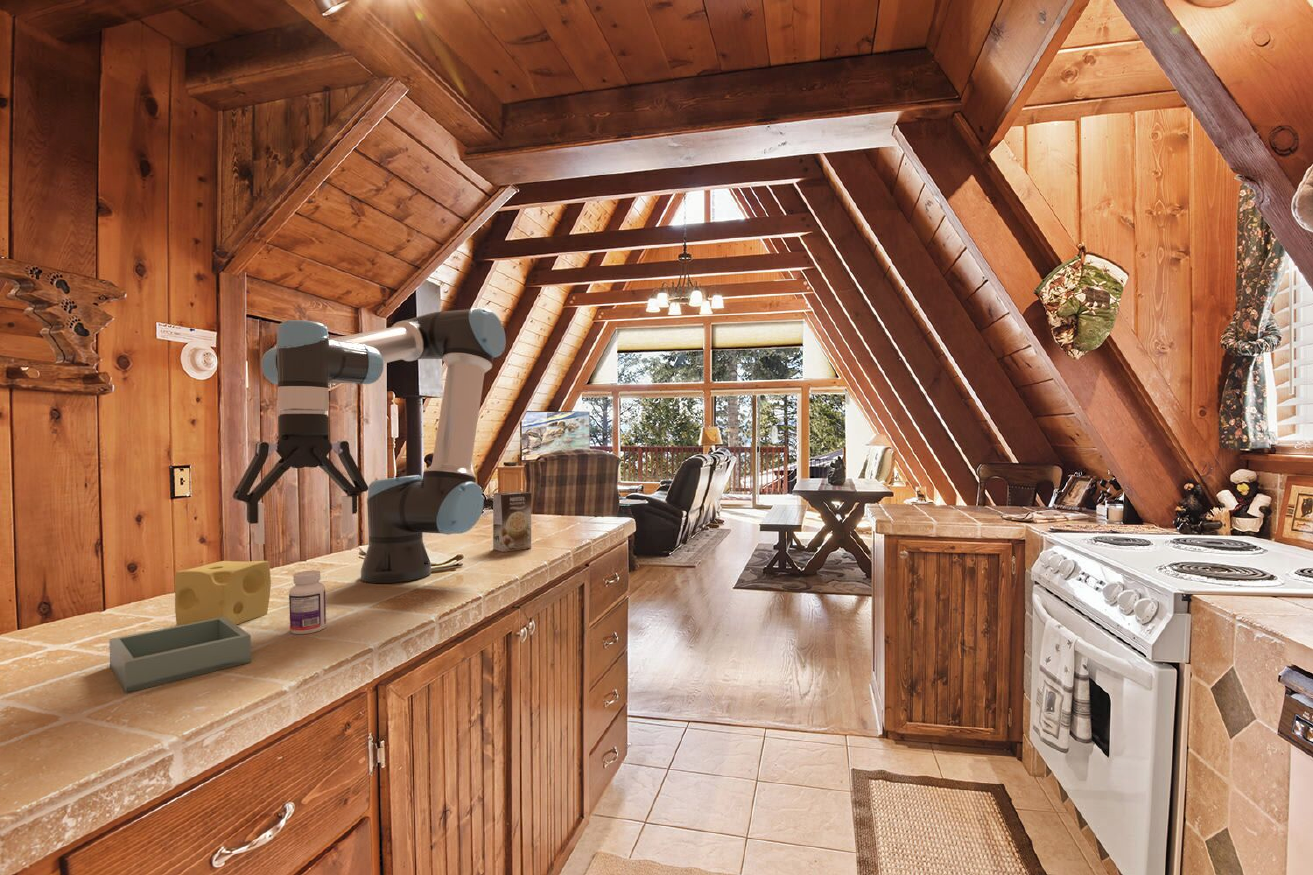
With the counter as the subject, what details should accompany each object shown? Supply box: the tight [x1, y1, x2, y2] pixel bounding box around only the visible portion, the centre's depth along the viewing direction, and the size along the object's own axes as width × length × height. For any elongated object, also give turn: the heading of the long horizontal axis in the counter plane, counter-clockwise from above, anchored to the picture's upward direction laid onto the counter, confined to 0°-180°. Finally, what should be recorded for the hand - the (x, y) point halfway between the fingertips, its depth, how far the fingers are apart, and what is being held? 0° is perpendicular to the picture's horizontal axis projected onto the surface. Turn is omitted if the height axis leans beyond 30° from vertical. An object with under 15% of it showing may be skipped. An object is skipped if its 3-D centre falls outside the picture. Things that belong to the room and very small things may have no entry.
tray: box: [108, 617, 252, 694], centre depth 90 cm, size 14×14×4 cm
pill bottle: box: [288, 570, 327, 635], centre depth 105 cm, size 5×5×10 cm
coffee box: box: [492, 491, 532, 553], centre depth 176 cm, size 9×6×16 cm
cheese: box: [174, 560, 272, 626], centre depth 111 cm, size 10×11×10 cm
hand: (305, 538), depth 105 cm, fingers open, 13 cm apart
